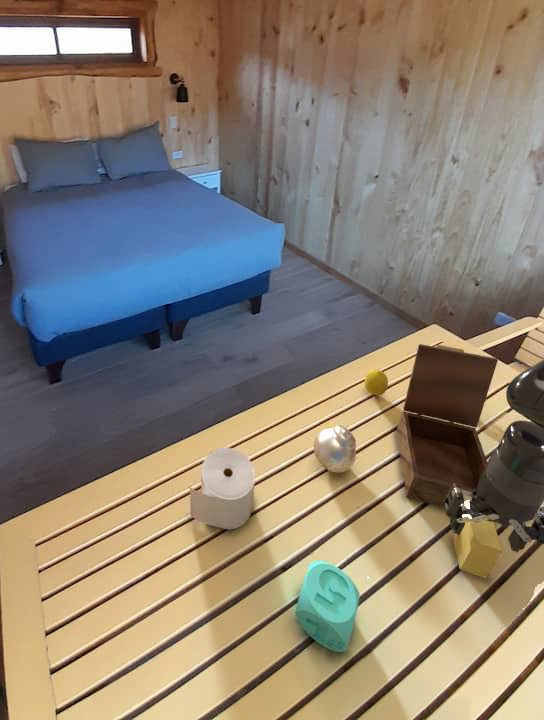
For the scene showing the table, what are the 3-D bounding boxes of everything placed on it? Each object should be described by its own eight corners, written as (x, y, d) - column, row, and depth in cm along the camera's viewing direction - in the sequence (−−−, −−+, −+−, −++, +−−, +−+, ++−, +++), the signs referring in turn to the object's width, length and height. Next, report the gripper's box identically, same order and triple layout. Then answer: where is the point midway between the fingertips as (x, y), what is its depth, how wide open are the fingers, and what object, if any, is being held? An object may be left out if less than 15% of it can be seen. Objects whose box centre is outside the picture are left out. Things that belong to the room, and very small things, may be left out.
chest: (488, 521, 79) (500, 500, 76) (406, 497, 84) (413, 476, 81) (466, 448, 93) (475, 428, 90) (396, 430, 98) (402, 410, 95)
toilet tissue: (260, 494, 85) (264, 464, 80) (234, 548, 76) (236, 518, 72) (217, 468, 90) (218, 438, 86) (187, 515, 81) (187, 485, 77)
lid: (498, 360, 84) (489, 347, 89) (419, 345, 89) (415, 334, 94) (476, 427, 90) (469, 412, 94) (403, 410, 94) (400, 396, 99)
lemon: (385, 390, 109) (391, 368, 105) (383, 404, 105) (389, 382, 101) (364, 382, 112) (369, 361, 108) (360, 396, 107) (366, 374, 104)
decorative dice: (292, 624, 66) (297, 600, 62) (308, 575, 72) (313, 551, 68) (342, 661, 62) (350, 638, 58) (354, 606, 68) (362, 582, 64)
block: (477, 548, 75) (493, 520, 71) (485, 578, 71) (502, 551, 67) (453, 540, 76) (467, 513, 72) (459, 569, 72) (475, 542, 68)
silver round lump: (361, 481, 87) (370, 451, 83) (318, 481, 87) (324, 451, 83) (346, 443, 95) (353, 414, 91) (306, 444, 95) (311, 415, 91)
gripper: (559, 471, 64) (523, 528, 71) (457, 446, 68) (433, 503, 76) (583, 519, 58) (541, 577, 65) (469, 488, 62) (441, 545, 69)
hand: (483, 537), depth 70 cm, fingers open, 8 cm apart
